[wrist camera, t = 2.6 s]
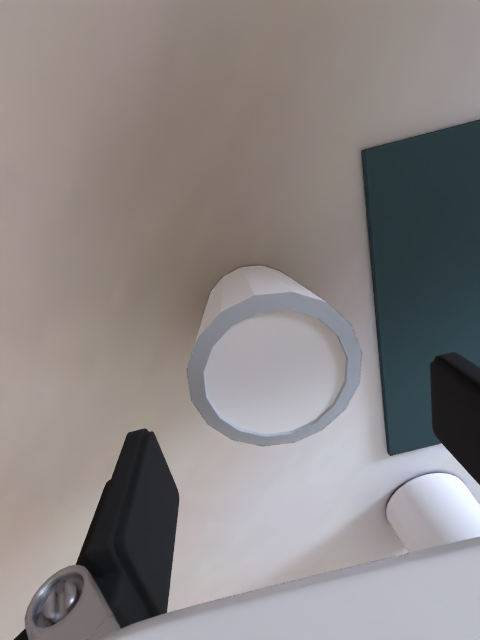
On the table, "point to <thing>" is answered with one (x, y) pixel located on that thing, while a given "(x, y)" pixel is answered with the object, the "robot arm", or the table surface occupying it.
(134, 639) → the robot arm
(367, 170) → the mat
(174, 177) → the table surface
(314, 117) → the table surface
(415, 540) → the cup
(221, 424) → the shot glass
